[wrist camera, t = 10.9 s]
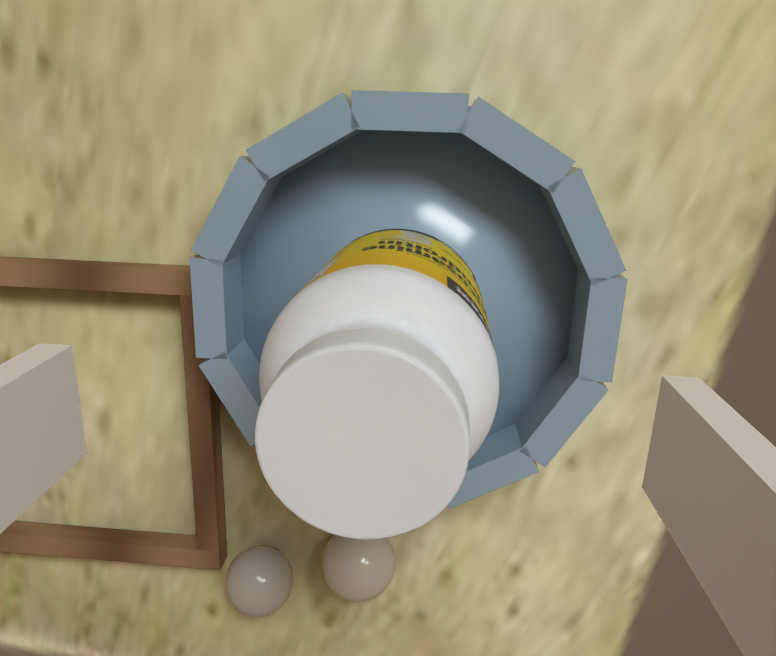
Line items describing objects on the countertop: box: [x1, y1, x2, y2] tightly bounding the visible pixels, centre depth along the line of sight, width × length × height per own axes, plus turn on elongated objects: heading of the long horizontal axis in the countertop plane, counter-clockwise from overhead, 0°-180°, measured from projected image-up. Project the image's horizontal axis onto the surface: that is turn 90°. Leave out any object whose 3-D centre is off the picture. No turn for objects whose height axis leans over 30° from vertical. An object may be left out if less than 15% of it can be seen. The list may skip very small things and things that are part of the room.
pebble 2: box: [322, 535, 395, 602], centre depth 27 cm, size 3×3×3 cm
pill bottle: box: [255, 228, 499, 540], centre depth 19 cm, size 6×6×12 cm
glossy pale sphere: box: [225, 546, 293, 618], centre depth 28 cm, size 3×3×3 cm
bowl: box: [190, 90, 627, 509], centre depth 23 cm, size 15×15×3 cm
